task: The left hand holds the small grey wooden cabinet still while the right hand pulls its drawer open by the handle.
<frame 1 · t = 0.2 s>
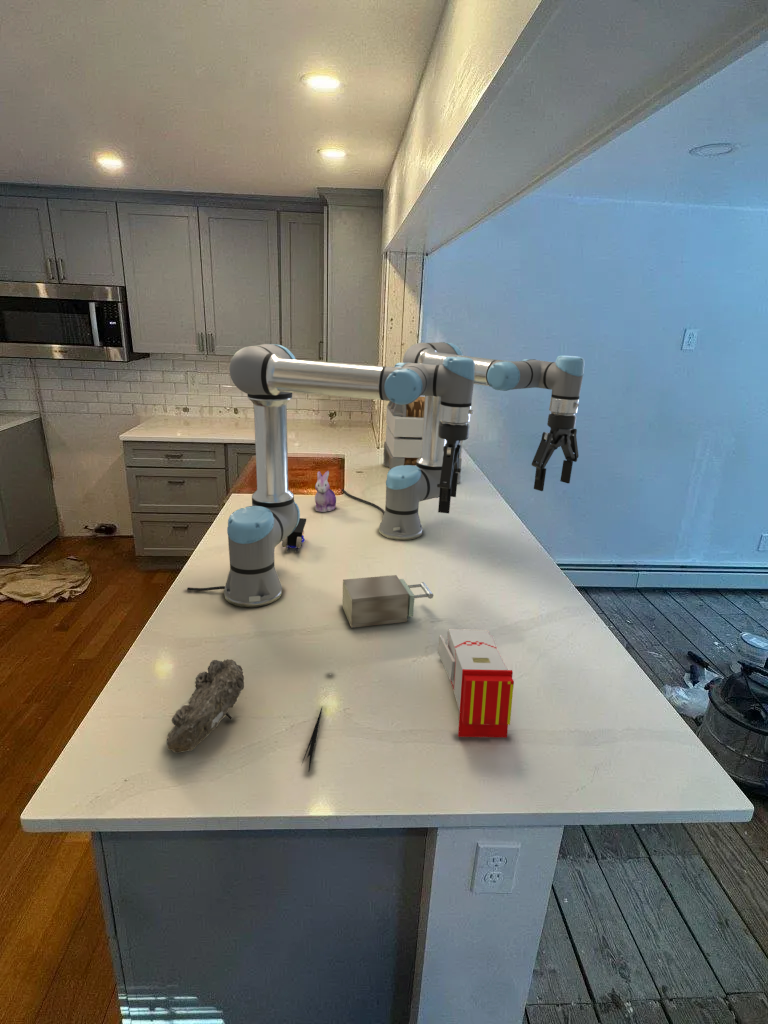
left hand: (447, 504, 146), 28 cm above the counter, tool pointing down, fingers open, 13 cm apart
right hand: (551, 486, 165), 28 cm above the counter, tool pointing down, fingers open, 13 cm apart
cabinet: (374, 614, 147), on the counter
toy: (469, 691, 119), on the counter
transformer: (419, 473, 275), on the counter
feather: (319, 719, 109), on the counter
drawer: (394, 598, 147), point 4 cm above the counter, slide at 0.6 cm
figurine: (325, 509, 221), on the counter
fossil: (212, 717, 108), on the counter
figurine character: (294, 546, 186), on the counter
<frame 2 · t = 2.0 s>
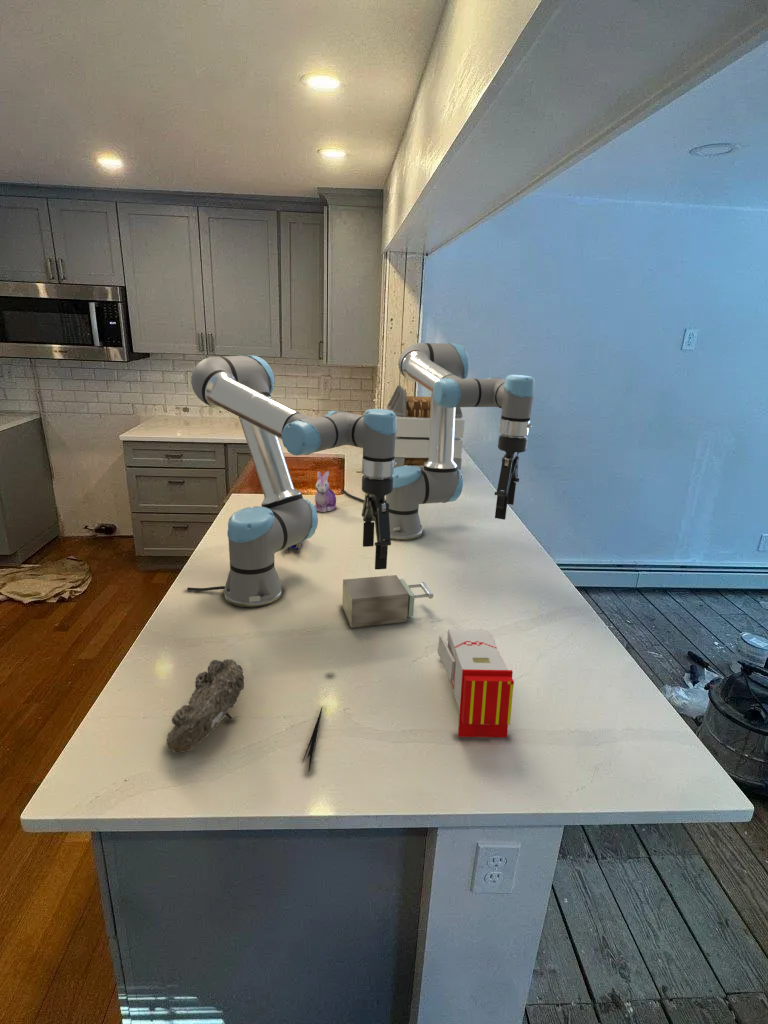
left hand: (374, 557, 142), 16 cm above the counter, tool pointing down, fingers open, 13 cm apart
right hand: (504, 511, 157), 23 cm above the counter, tool pointing down, fingers open, 13 cm apart
nothing on the counter moved.
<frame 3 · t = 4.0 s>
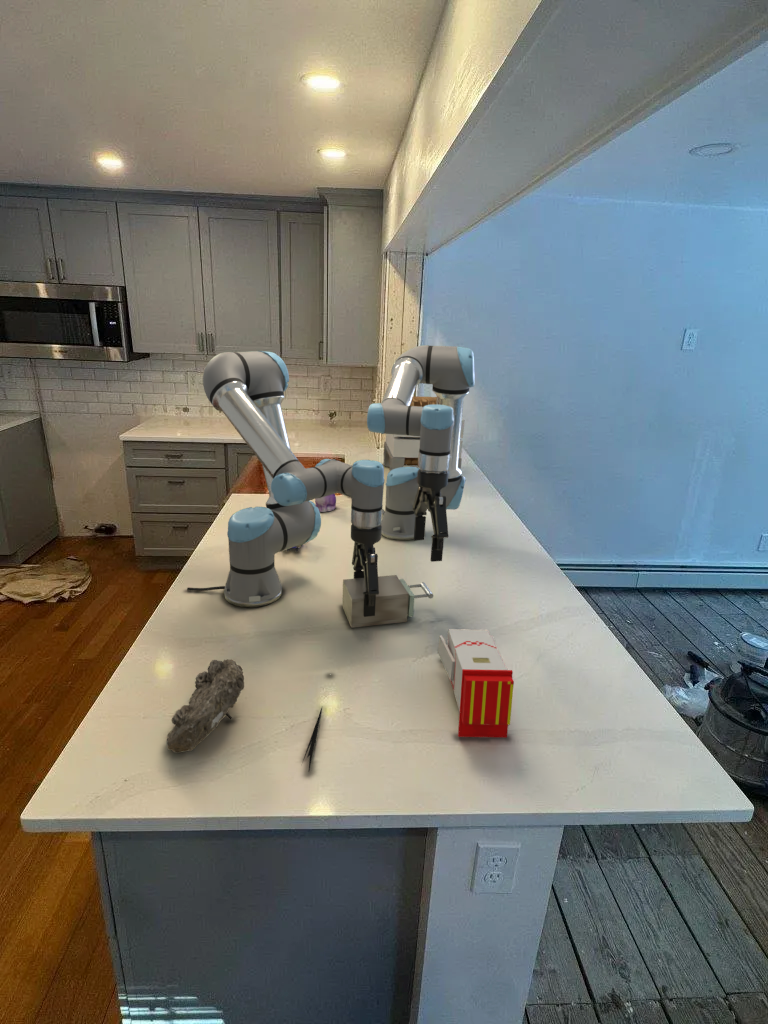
left hand: (363, 604, 145), 3 cm above the counter, tool pointing down, fingers closed on cabinet, 11 cm apart
right hand: (427, 549, 145), 17 cm above the counter, tool pointing down, fingers open, 13 cm apart
cabinet: (374, 614, 147), on the counter, touching left hand
everything else where it was.
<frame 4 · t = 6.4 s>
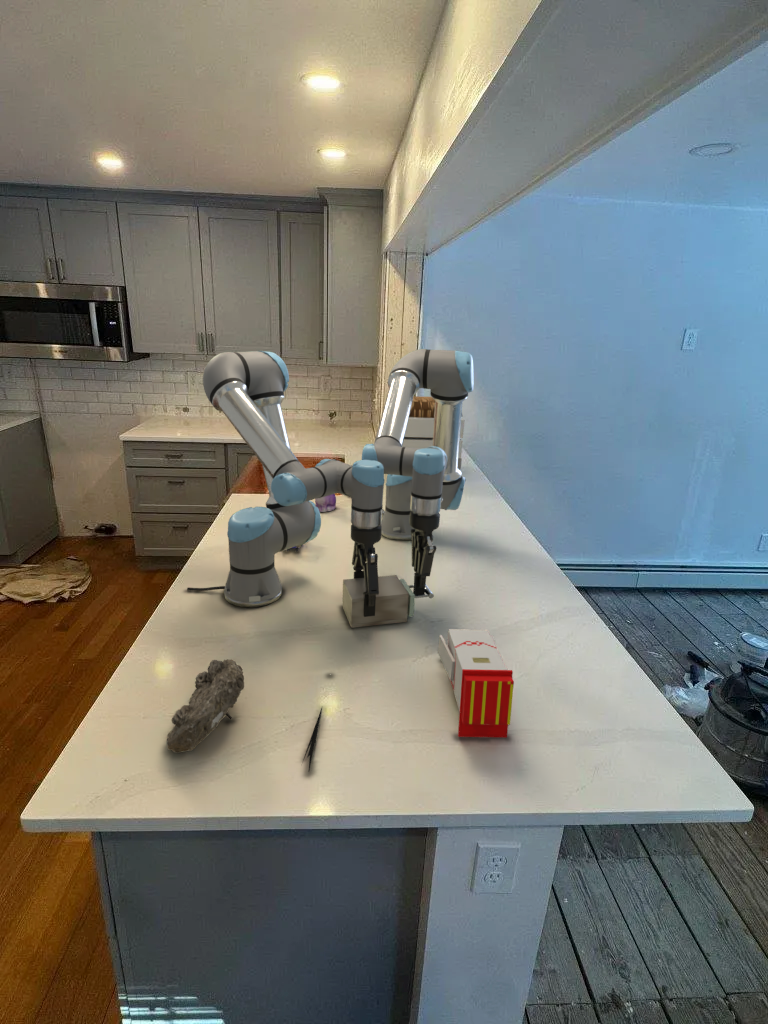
left hand: (363, 604, 145), 3 cm above the counter, tool pointing down, fingers closed on cabinet, 11 cm apart
right hand: (418, 596, 149), 4 cm above the counter, tool pointing down, fingers closed
cabinet: (374, 614, 147), on the counter, touching left hand
drawer: (394, 598, 147), point 4 cm above the counter, slide at 0.7 cm, touching right hand
everything else where it was.
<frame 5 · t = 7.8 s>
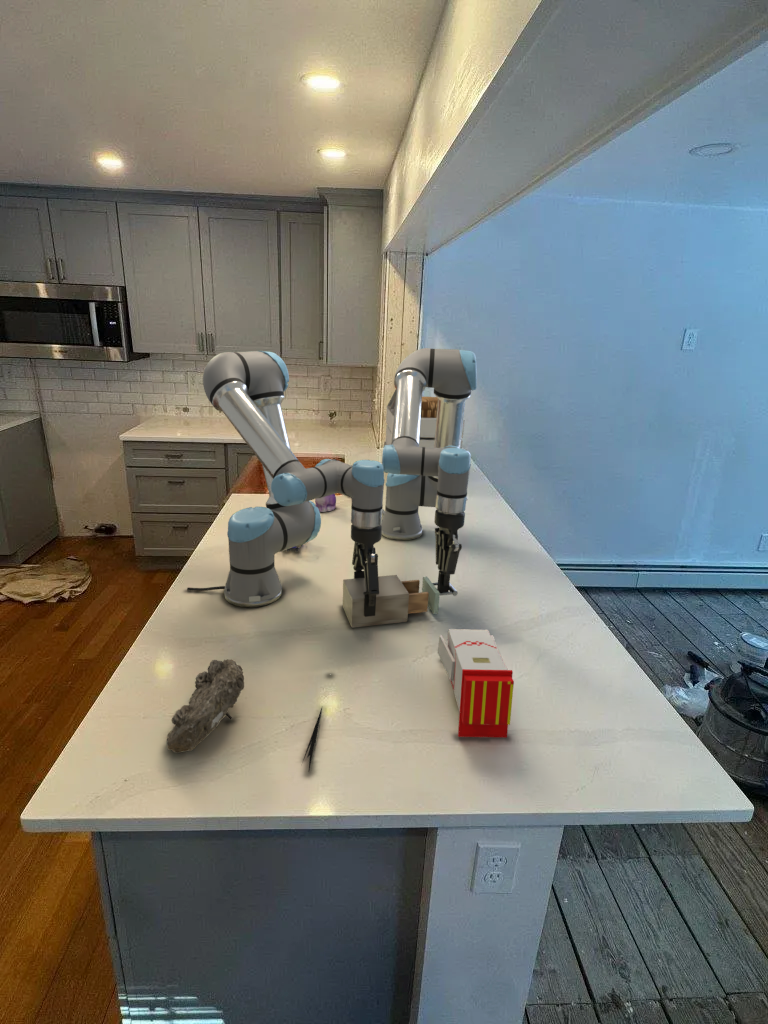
left hand: (364, 604, 145), 3 cm above the counter, tool pointing down, fingers closed on cabinet, 11 cm apart
right hand: (442, 593, 151), 4 cm above the counter, tool pointing down, fingers closed
cabinet: (374, 614, 147), on the counter, touching left hand
drawer: (419, 595, 149), point 4 cm above the counter, slide at 7.3 cm, touching right hand
everything else where it was.
when the left hand's fingers open (3 cm above the counter, at t = 9.6 s): cabinet stays where it is, on the counter.
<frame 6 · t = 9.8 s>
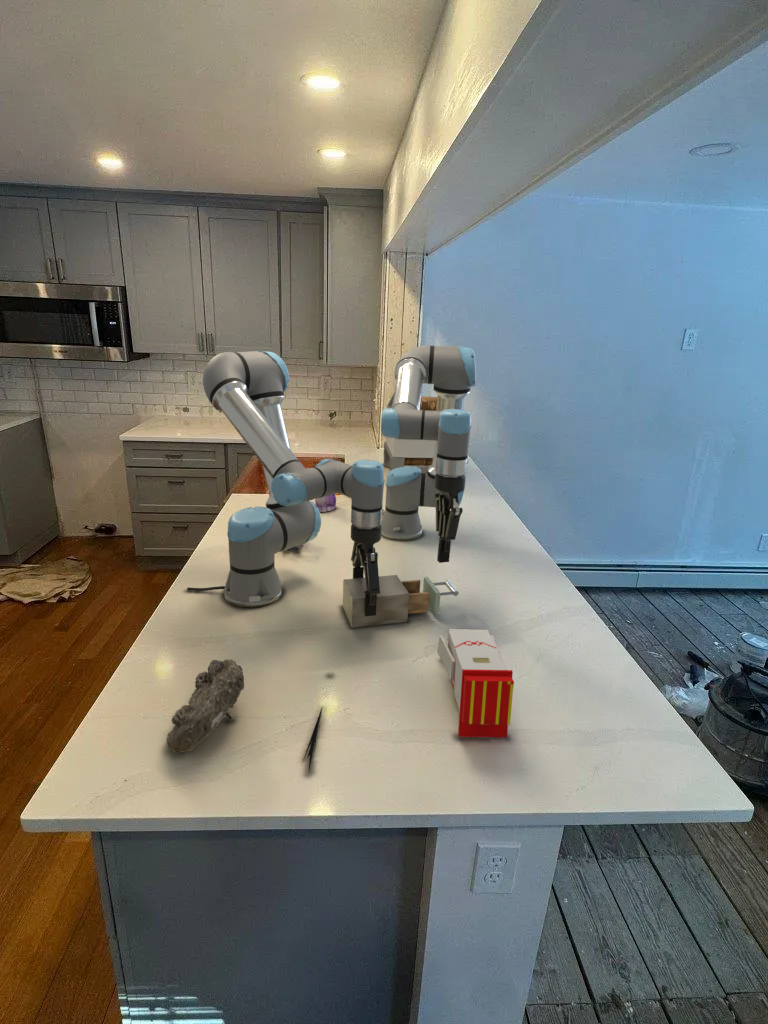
left hand: (363, 602, 145), 4 cm above the counter, tool pointing down, fingers open, 13 cm apart
right hand: (443, 561, 147), 14 cm above the counter, tool pointing down, fingers closed
cabinet: (374, 614, 147), on the counter
drawer: (419, 595, 149), point 4 cm above the counter, slide at 7.5 cm
everything else where it was.
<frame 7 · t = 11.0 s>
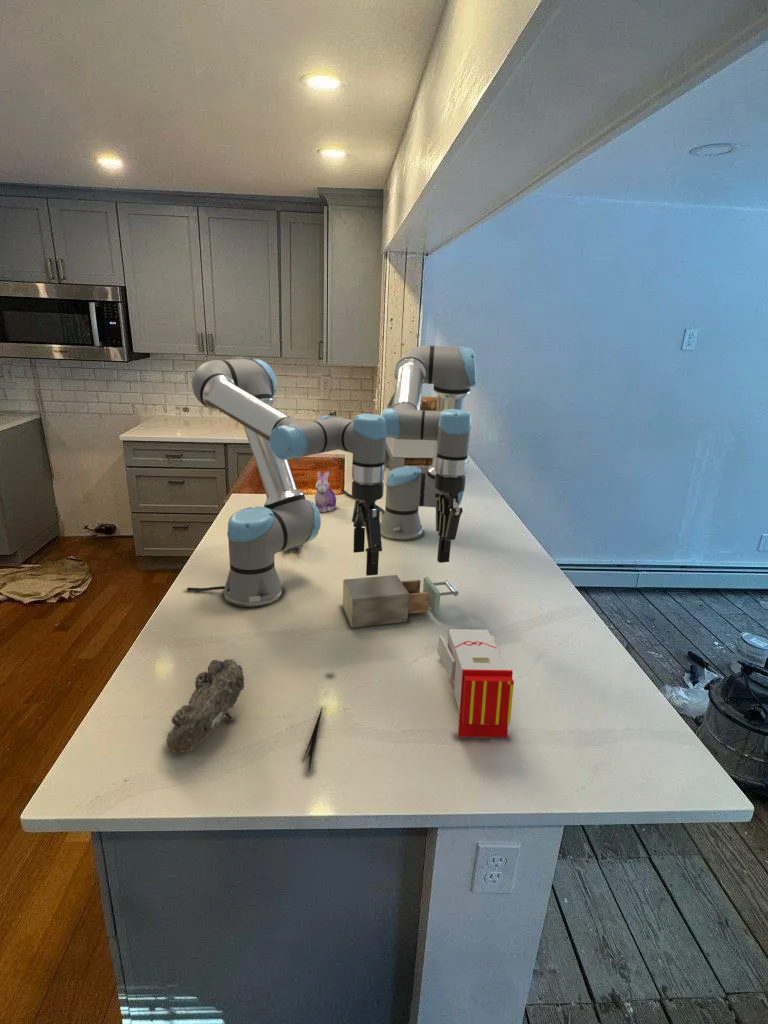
left hand: (365, 562, 141), 15 cm above the counter, tool pointing down, fingers open, 13 cm apart
right hand: (443, 561, 147), 14 cm above the counter, tool pointing down, fingers closed
nothing on the counter moved.
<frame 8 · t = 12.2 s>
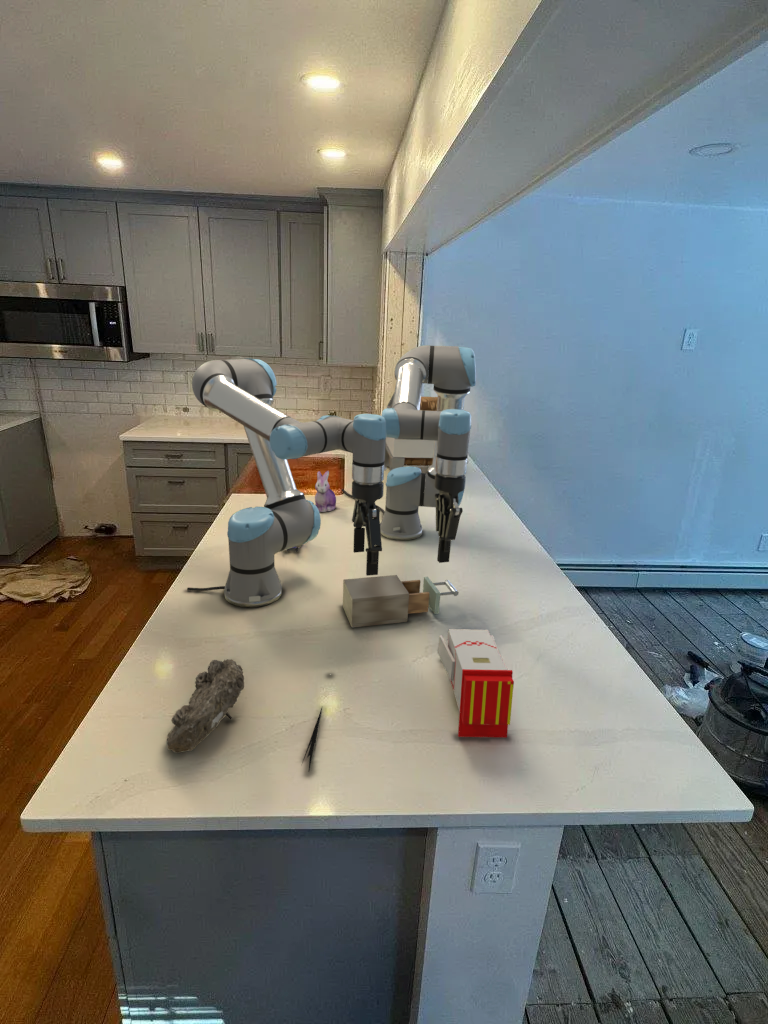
left hand: (365, 562, 141), 15 cm above the counter, tool pointing down, fingers open, 13 cm apart
right hand: (443, 561, 147), 14 cm above the counter, tool pointing down, fingers closed
nothing on the counter moved.
at the end: drawer slide at 7.5 cm; cabinet tilted 0°; cabinet never tilted more than 1° during the clip; cabinet moved 0.1 cm from its start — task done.
